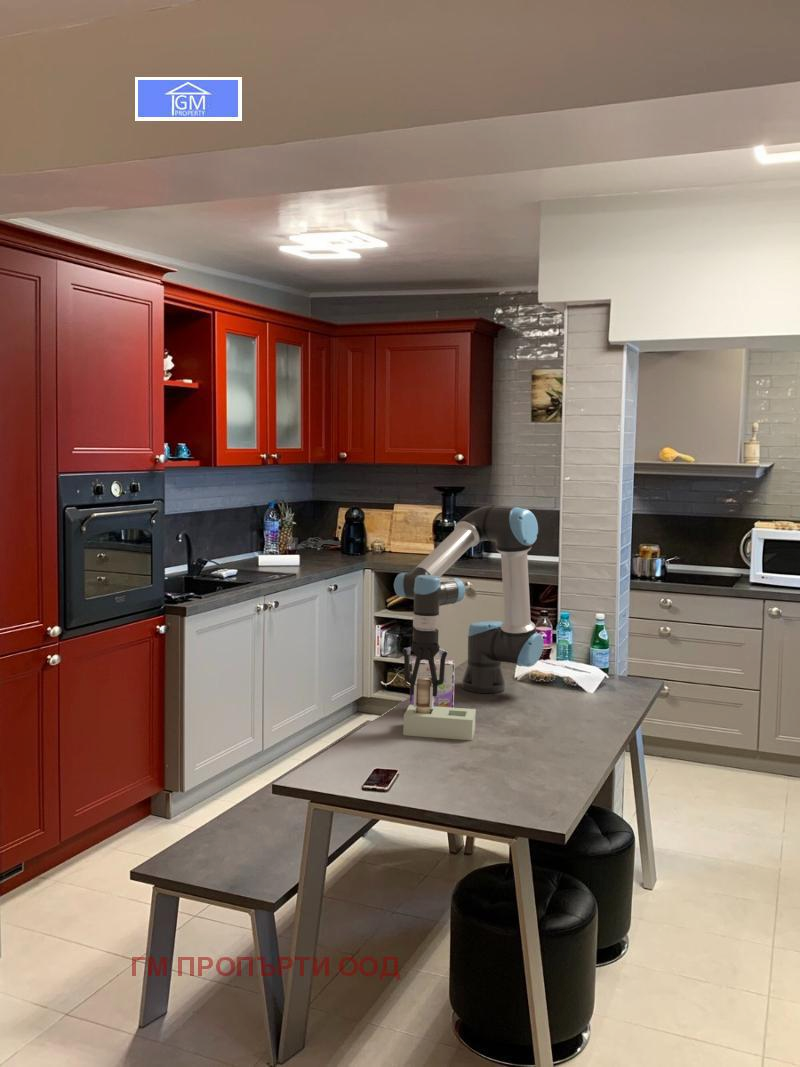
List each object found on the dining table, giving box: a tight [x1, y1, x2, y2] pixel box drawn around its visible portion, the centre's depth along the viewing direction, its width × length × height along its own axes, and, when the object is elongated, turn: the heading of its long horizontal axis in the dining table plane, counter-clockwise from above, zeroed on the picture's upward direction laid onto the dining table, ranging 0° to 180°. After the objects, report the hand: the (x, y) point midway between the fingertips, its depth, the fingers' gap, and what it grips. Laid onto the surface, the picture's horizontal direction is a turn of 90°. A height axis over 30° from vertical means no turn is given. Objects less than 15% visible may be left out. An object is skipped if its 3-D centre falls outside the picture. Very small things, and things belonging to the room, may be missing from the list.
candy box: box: [409, 658, 455, 708], centre depth 300 cm, size 14×6×16 cm, turn 84°
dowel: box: [417, 678, 431, 714], centre depth 281 cm, size 4×4×14 cm
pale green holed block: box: [402, 704, 477, 741], centre depth 281 cm, size 11×20×6 cm, turn 81°
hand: (423, 706), depth 281 cm, fingers closed on dowel, 4 cm apart
